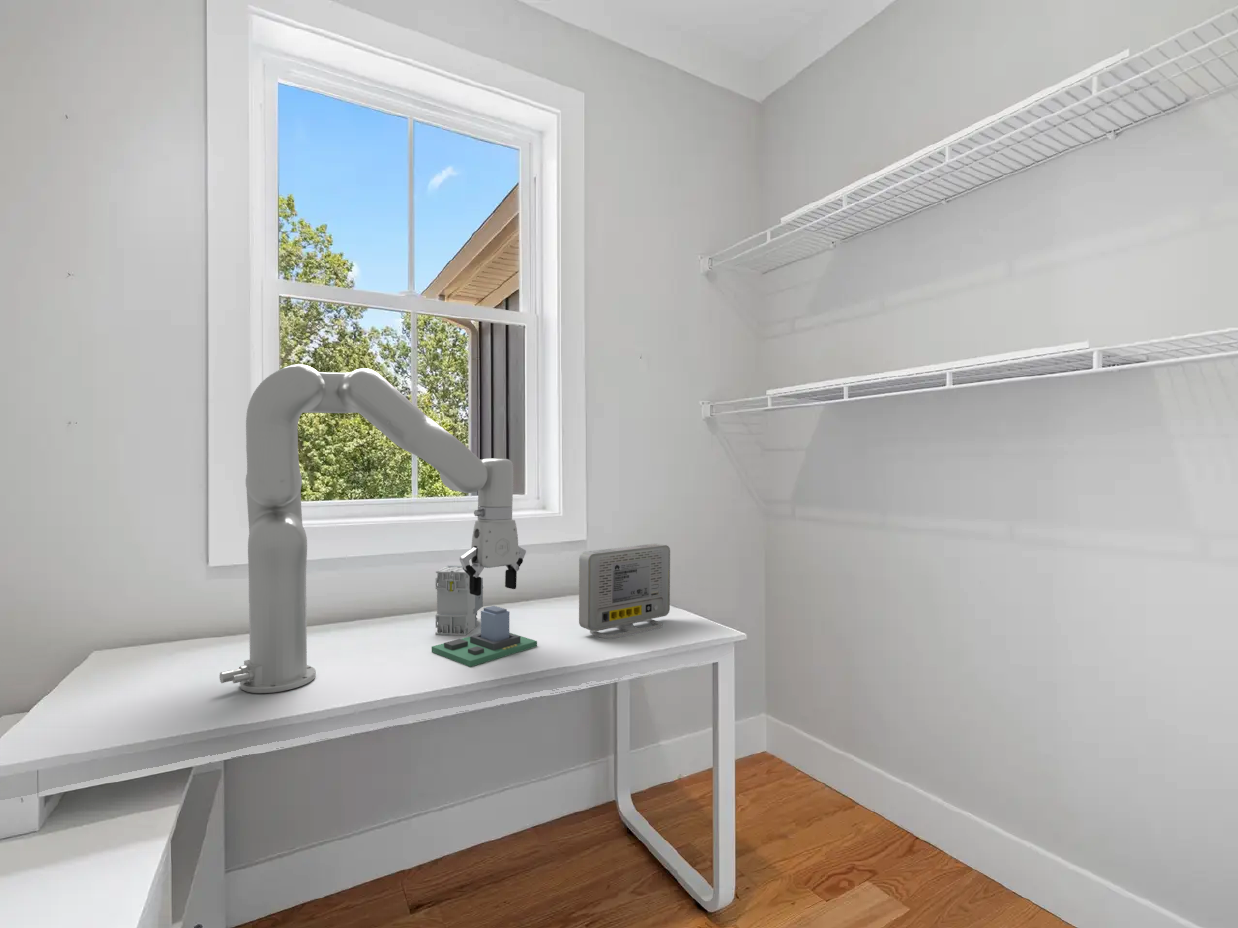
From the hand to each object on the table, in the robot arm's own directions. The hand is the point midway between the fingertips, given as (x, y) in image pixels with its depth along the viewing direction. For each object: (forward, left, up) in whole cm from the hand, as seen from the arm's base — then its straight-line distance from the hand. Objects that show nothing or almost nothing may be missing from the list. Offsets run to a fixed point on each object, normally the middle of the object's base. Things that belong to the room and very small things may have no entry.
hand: (493, 591), depth 140 cm
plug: (0, 0, -12) cm, 12 cm away
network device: (+31, -12, -13) cm, 36 cm away
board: (-2, +1, -13) cm, 13 cm away
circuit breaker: (+5, +20, -13) cm, 24 cm away
